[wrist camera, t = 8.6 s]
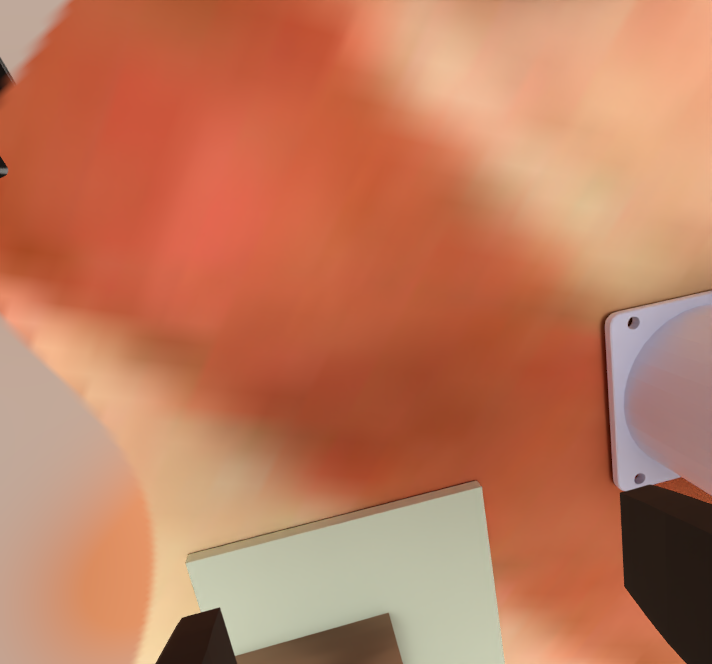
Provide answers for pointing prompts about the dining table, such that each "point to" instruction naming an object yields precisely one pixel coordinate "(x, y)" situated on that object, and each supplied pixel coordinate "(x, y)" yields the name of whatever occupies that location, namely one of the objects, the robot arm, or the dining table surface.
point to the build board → (365, 579)
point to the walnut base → (335, 646)
